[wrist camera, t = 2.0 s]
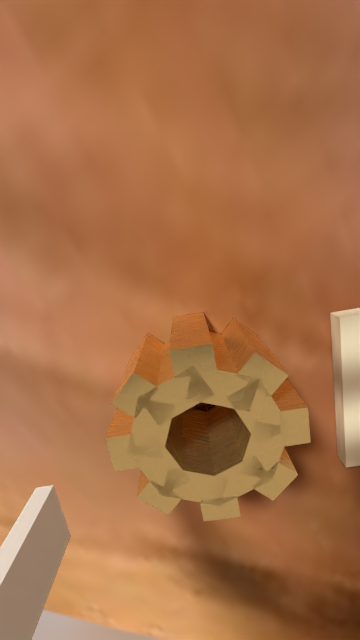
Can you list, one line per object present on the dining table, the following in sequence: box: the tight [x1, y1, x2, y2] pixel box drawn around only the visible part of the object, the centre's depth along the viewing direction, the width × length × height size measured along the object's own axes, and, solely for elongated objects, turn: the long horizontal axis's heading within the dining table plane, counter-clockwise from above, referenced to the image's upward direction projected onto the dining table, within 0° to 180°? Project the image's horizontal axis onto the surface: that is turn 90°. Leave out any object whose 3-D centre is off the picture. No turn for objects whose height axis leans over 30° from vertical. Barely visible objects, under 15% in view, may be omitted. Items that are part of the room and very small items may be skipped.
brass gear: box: [105, 312, 311, 521], centre depth 18 cm, size 10×10×6 cm
